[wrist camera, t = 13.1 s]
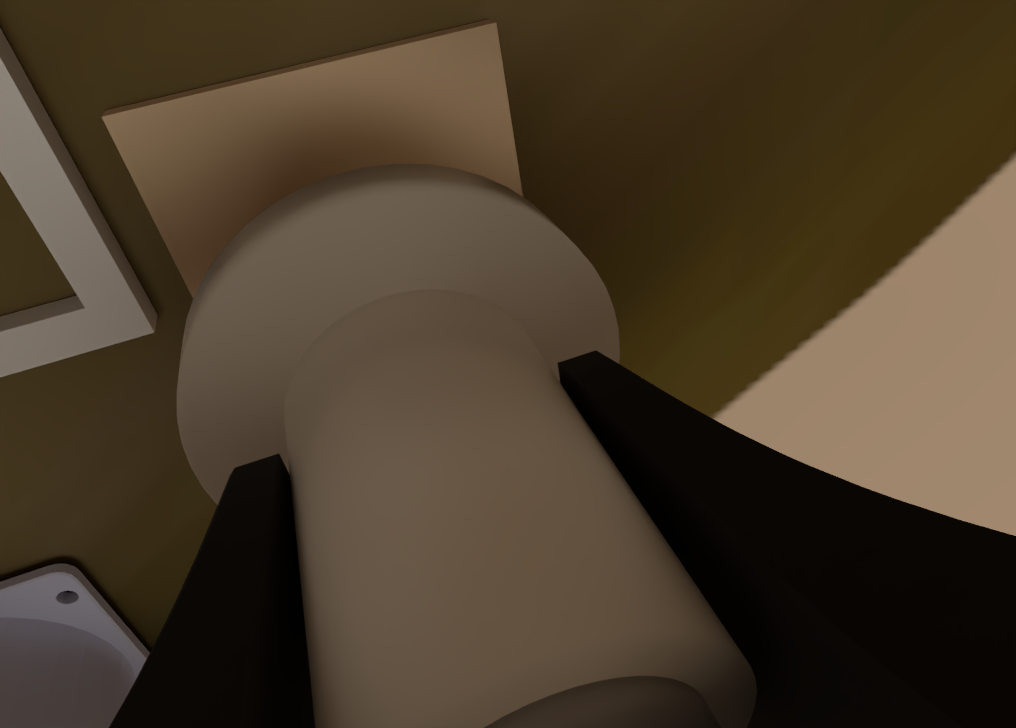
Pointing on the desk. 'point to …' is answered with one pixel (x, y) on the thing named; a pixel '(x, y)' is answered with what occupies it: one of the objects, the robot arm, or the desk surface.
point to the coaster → (313, 133)
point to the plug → (446, 463)
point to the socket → (61, 240)
